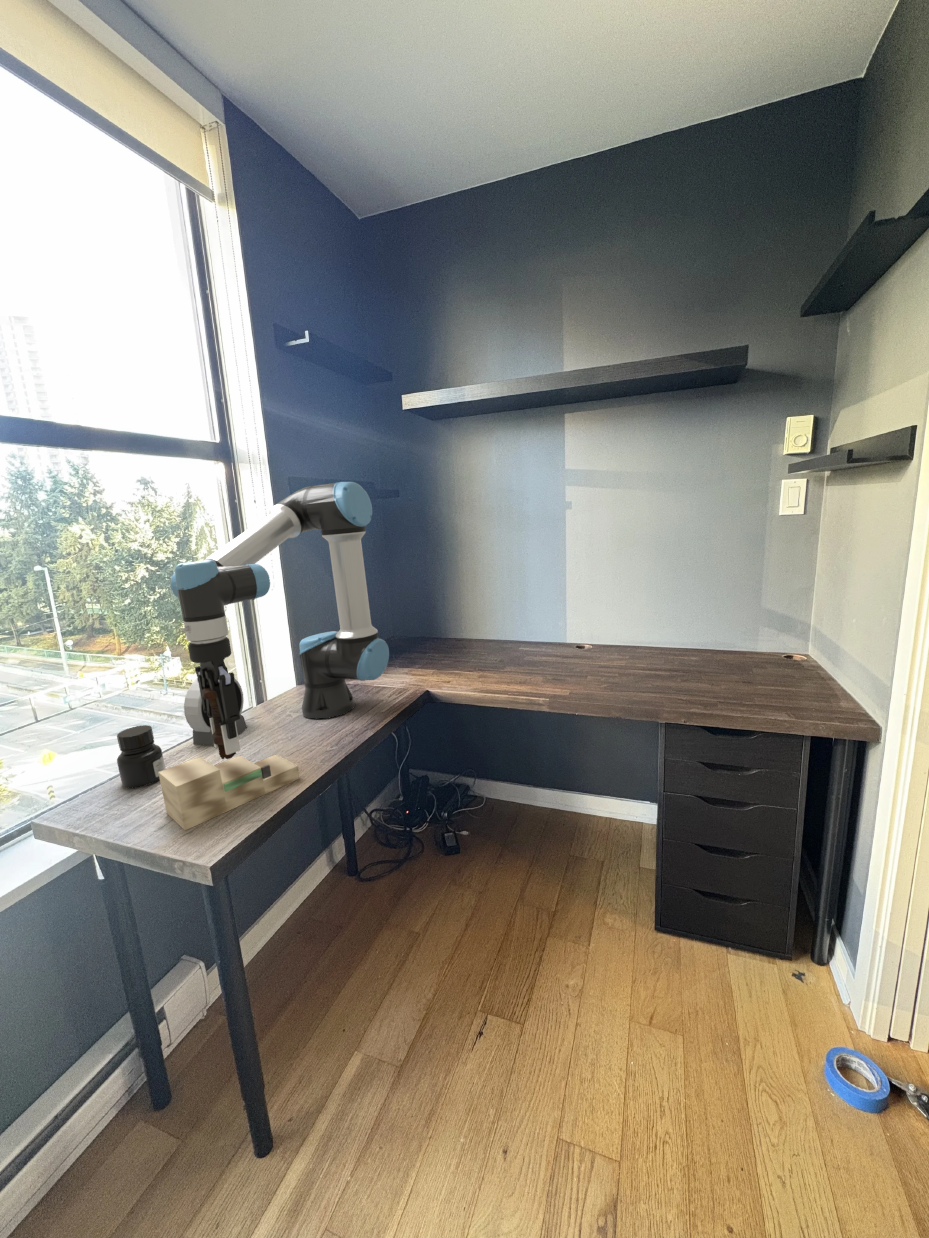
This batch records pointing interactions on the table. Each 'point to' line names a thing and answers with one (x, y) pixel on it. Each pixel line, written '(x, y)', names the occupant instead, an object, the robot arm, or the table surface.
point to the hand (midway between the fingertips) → (227, 748)
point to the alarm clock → (200, 718)
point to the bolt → (216, 722)
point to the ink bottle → (139, 757)
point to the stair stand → (220, 786)
